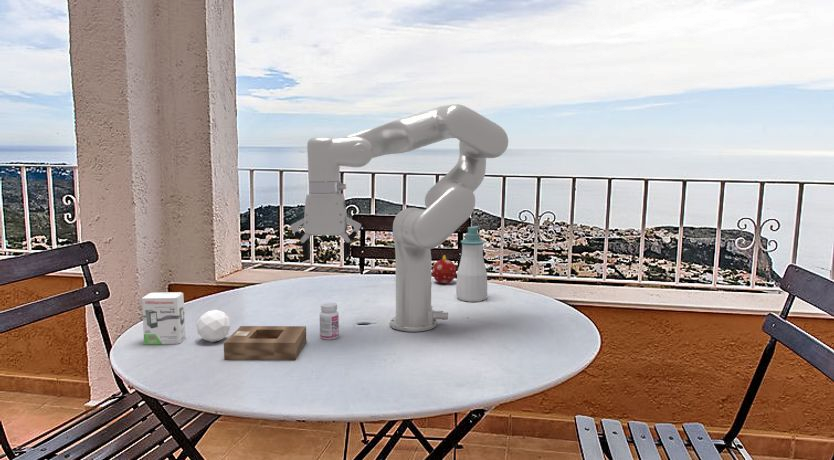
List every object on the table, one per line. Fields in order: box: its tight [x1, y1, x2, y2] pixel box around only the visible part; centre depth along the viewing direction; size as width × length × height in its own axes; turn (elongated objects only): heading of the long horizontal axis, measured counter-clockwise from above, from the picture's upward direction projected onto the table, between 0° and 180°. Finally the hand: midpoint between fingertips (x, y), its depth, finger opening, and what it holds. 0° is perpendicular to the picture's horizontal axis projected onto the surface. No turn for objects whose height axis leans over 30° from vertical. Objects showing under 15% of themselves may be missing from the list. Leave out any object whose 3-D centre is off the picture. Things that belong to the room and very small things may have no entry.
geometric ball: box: [196, 309, 232, 343], centre depth 139 cm, size 8×8×8 cm
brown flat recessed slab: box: [223, 325, 307, 361], centre depth 132 cm, size 16×12×4 cm
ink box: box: [141, 291, 186, 345], centre depth 138 cm, size 9×5×12 cm, turn 94°
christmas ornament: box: [431, 254, 457, 284], centre depth 199 cm, size 9×9×10 cm
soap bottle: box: [455, 225, 488, 303], centre depth 178 cm, size 10×10×23 cm
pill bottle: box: [319, 302, 340, 340], centre depth 141 cm, size 5×5×8 cm
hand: (326, 257), depth 139 cm, fingers open, 9 cm apart
